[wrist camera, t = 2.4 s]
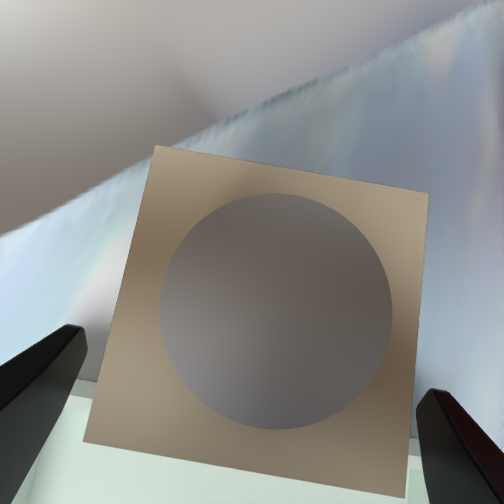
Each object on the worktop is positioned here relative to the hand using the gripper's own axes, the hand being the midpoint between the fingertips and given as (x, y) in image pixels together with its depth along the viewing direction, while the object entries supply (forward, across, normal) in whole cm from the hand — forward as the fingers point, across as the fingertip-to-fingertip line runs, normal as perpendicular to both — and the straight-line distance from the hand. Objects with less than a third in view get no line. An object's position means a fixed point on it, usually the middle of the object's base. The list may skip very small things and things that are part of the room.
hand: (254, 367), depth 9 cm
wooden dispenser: (+7, 0, +5) cm, 9 cm away
